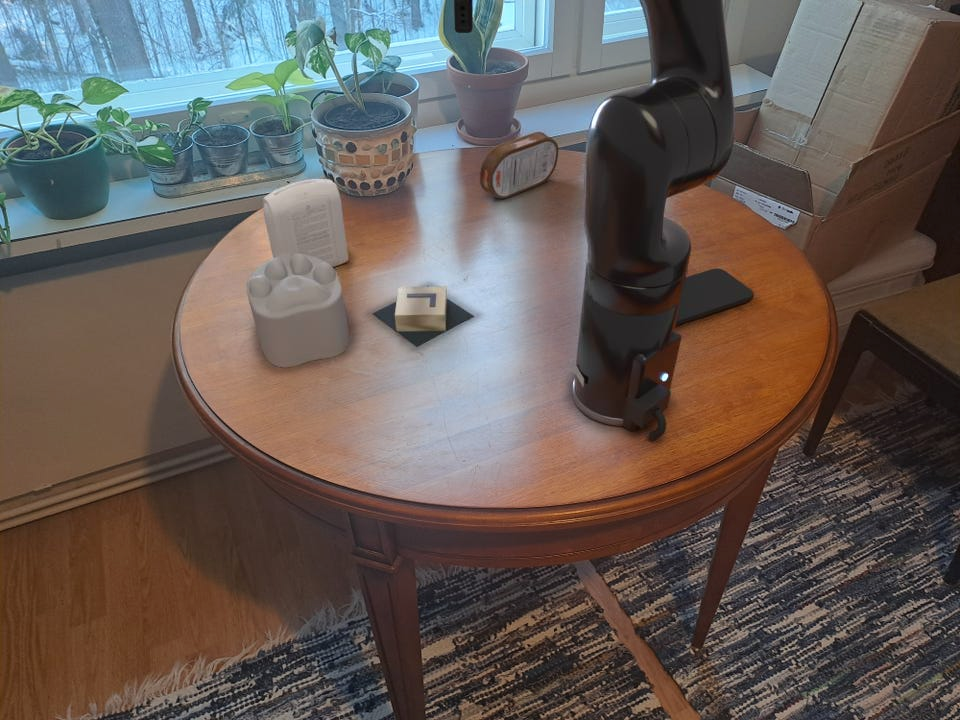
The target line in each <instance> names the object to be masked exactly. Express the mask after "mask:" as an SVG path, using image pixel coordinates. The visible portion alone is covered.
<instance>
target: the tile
mask: <svg viewBox="0 0 960 720" xmlns="http://www.w3.org/2000/svg"><path fill="white" fill-rule="evenodd" d="M447 299H448V291H447V286H446V285H445V286H443V285H442V286H429V287H427V286H398V291H397V296H396V301H397V302H396V301H395V302H396V309H395V323H396V331H445V332H447V331H446V315H447ZM396 331H395V332H396Z"/></svg>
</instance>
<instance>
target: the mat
mask: <svg viewBox="0 0 960 720" xmlns="http://www.w3.org/2000/svg"><path fill="white" fill-rule="evenodd" d="M426 287H430V285H427V286H426ZM396 302H397V300H396V301H394V302H393V303H390V304H388V305H387V306H384V307H381V308H380V309H378V310H376V311H374V312H372V315H373V316H374V317H376V318H377V319H379V320H380V321H381V322H383V323H384V324H385V325H387V326H388V328H390V329H392V330H393V331H395V332H396V333H397V334H399V335H400V336H401V337H403V338H404V339H406V340H407V341H408V342H410V343H411V344H412V345H414V346H415V347H420V346H421V345H423V344H425V343H427V342H428V341H429V342H430V341H431V340H432V339H434V338H437V337H438V336H440V335H441V334H443V333H445V332H447V331H449V330H452V329H453V328H454V327H457V326H458V325H460V324H462V323H463V322H465V321H467V320H469V319H471V318H473V317H474V314H472V313H470V312H469V311H468V310H466V309H464V308H463V307H461V306H460V305H458V304H457V303H455V302H454V301H452V300H451V299H449V298H447V315H446V331H396V323H395V309H396Z"/></svg>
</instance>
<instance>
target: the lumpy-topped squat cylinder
mask: <svg viewBox="0 0 960 720" xmlns="http://www.w3.org/2000/svg"><path fill="white" fill-rule="evenodd" d="M334 268H335V267H332V266H331V265H330V264H329V263H326V262H324V261H322V260H320V259H318V258H316V257H313V256H309V255H304V254H297V253H288V254H283V255H279V256H276V257H274V258H273V257H271V258H270V259H268V260H266V261H265V262H262V264H260V265H259V266H257V268H256V269H255V270H254V271H253V272H252V273H251V275H250V277H249V278H248V280H247V281H246V282H247V283H246V294H247V298H248V303H249V305H250V311H251V314H252V318H253V322H254V325H255V329H256V333H257V337H258V340H259V344H260V348H261V350H262V353H263V356H264V357H265V359H266V360H267V362H268V363H269V364H271V365H273V366H275V367H278V368H284V369H285V368H286V369H287V368H293V367H298V366H300V365H304V364H306V363H309V362H313V361H317V360H318V361H319V360H324V359H330V358H334V357H337V356H340V355H341V354H342V353H345V352H346V350H347V349H348V347H349V345H350V343H351V338H350V331H349V325H348V319H347V313H346V306H345V301H344V294H343V288H342V284H341V280H340V277H339V276H338V274H337V272H336V270H335V269H334Z"/></svg>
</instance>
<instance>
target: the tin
mask: <svg viewBox="0 0 960 720" xmlns="http://www.w3.org/2000/svg"><path fill="white" fill-rule="evenodd" d="M558 159H559V145H558V143H557V142H556V140H555V139H553V138H552V137H551V136H548V135H547V134H546V133H545V132H542V131H535V132H532V133H529V134H526V135H523V136H520V137H517V138H514V139H512V140H508V141H505V142H502V143H499V144H497V145H496V146H495V147H493V148H492V149H490V151H489V152H488V153H487V155H486V156H485V157H484V159H483V162H482V164H481V166H480V170H479V184H480V186H481V187H480V188H482V191H484V192H485V193H487V194H490V195H491V196H493V197H495V198H496V199H507V198H510V197H512V196H515V195H517V194H520V193H523V192H525V191H528V190H530V189H533V188H536V187H538V186H541V185H543V184H544V183H546V181H547V180H549V179H550V177H551V176H552V175H553V173H554V171H555V169H556V167H557V163H558Z"/></svg>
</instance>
